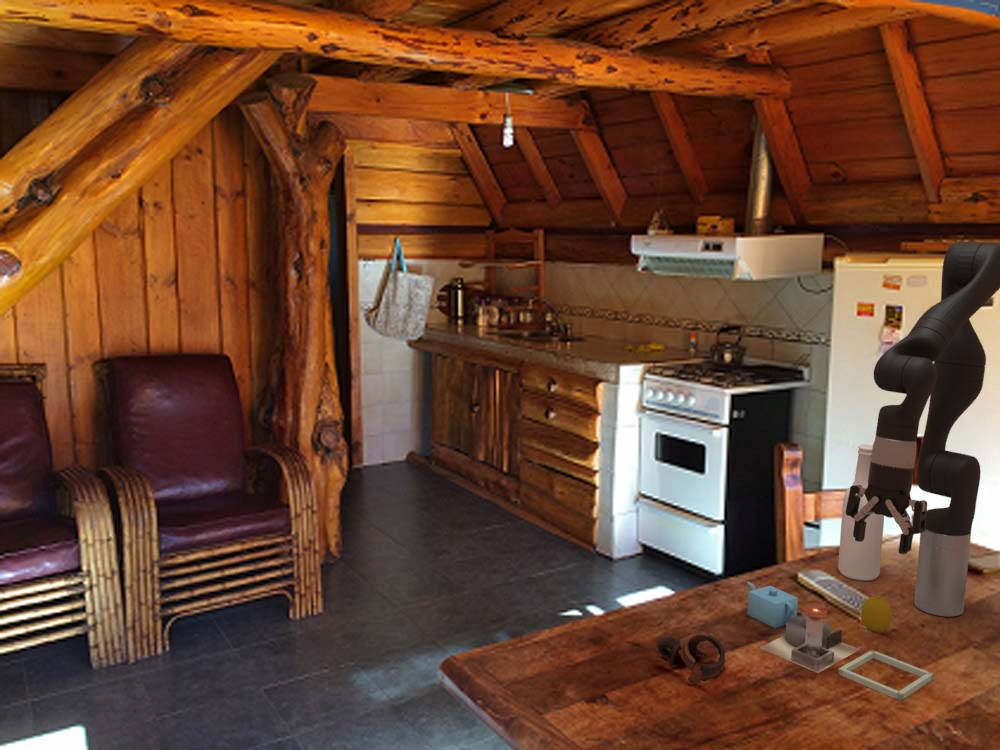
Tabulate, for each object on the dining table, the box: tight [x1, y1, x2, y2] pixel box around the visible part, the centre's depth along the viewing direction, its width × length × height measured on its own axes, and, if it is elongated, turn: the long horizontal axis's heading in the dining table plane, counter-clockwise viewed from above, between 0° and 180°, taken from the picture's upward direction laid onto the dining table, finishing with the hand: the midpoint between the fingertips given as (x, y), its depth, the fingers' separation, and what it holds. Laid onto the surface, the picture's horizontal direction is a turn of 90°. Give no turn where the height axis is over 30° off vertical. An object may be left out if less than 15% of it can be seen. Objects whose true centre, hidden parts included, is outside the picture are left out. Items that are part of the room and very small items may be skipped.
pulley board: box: [759, 613, 861, 674], centre depth 165 cm, size 14×12×6 cm
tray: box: [837, 649, 935, 702], centre depth 155 cm, size 11×11×2 cm
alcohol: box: [837, 443, 885, 582], centre depth 201 cm, size 9×9×30 cm
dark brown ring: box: [656, 632, 727, 685], centre depth 158 cm, size 12×10×8 cm
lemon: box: [860, 594, 893, 634], centre depth 173 cm, size 6×6×8 cm
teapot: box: [746, 581, 799, 629], centre depth 178 cm, size 12×6×8 cm, turn 31°
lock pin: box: [803, 602, 828, 658], centre depth 159 cm, size 4×4×10 cm
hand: (880, 547), depth 168 cm, fingers open, 8 cm apart
